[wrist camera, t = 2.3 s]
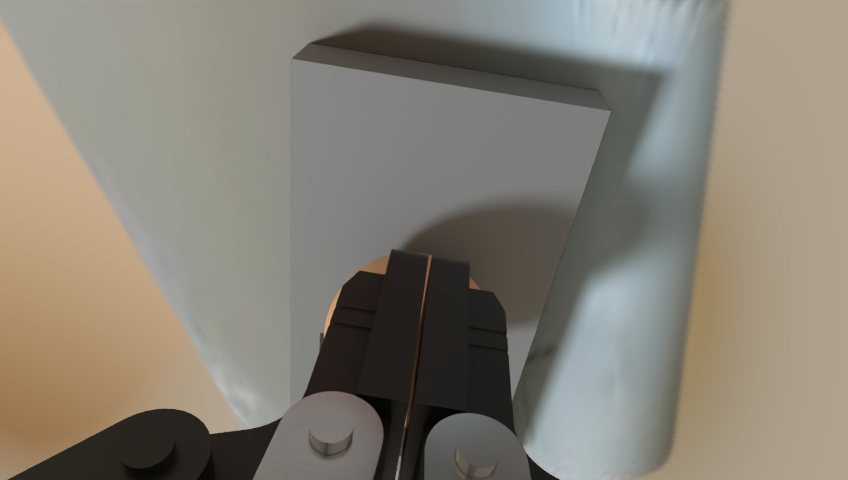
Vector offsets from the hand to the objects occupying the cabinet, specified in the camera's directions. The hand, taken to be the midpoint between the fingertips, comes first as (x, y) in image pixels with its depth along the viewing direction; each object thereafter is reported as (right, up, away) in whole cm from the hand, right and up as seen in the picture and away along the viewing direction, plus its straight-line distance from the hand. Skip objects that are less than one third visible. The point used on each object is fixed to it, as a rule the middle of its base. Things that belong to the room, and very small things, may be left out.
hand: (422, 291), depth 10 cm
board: (0, -2, +18) cm, 18 cm away
